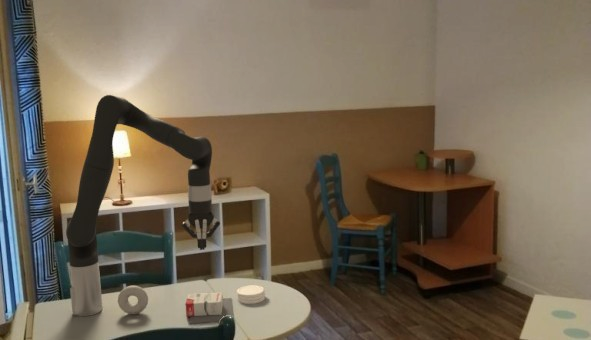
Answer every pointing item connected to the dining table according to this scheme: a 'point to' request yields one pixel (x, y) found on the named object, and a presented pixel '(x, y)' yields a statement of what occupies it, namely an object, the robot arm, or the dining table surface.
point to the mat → (214, 318)
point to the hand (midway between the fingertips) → (202, 249)
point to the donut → (132, 291)
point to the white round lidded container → (251, 294)
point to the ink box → (204, 304)
